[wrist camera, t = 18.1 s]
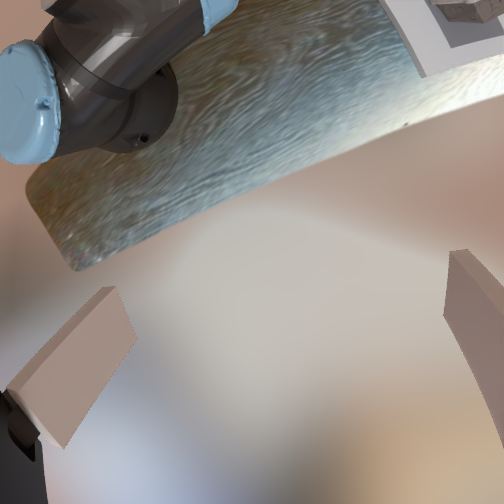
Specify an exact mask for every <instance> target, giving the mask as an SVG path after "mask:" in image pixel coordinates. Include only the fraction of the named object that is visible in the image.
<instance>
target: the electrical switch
mask: <svg viewBox="0 0 504 504" xmlns="http://www.w3.org/2000/svg"><path fill="white" fill-rule="evenodd" d="M430 2H431V4H432V5H437V4H438V6H439V8H440V9H441V11H442V12H443V13H444V15H445V17H446V18H447V20H448V22H468V23H482V24H483V23H486V22H488V21H490V20H492V19H494V18H496V17H498V16H500V15H502V14H504V0H430ZM481 19H482V20H481ZM482 21H483V22H482Z"/></svg>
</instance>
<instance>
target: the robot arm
mask: <svg viewBox="0 0 504 504" xmlns="http://www.w3.org/2000/svg"><path fill="white" fill-rule="evenodd" d="M238 1H239V0H41V8H42V9H43V10H44V11H46V12H48V13H49V14H51V15H52V16H54V18H53V19H52V20H51V22H50V23H49V24H48V25H47V27H46V28H45V29H44V30H43V31H42V33H41V34H40V35H39V36H38V38H37V39H36V40H35V41H33V40H22V41H20V42H17V43H16V44H12V45H10V46H8V47H7V48H6V49H5V50H3V52H2V53H1V54H0V155H1V157H3V158H4V159H5V160H6V161H8V162H10V163H14V164H18V165H26V164H33V163H43V162H46V161H47V160H49V159H52V158H55V157H59V156H62V155H66V154H70V153H74V152H77V151H81V150H85V149H89V148H94V147H98V148H101V149H104V150H107V151H110V152H114V153H129V152H133V151H137V150H141V149H144V148H146V147H148V146H150V145H151V144H153V143H154V142H156V141H157V140H158V139H159V138H160V137H161V136H162V135H163V134H164V133H165V132H166V130H167V129H168V127H169V126H170V124H171V122H172V120H173V118H174V115H175V112H176V108H177V102H178V88H177V82H176V79H175V76H174V74H173V72H172V70H171V68H170V67H169V65H168V64H167V62H169V61H170V60H171V59H172V58H173V57H175V56H176V55H177V54H178V53H180V52H181V51H182V50H183V49H185V48H186V47H187V46H189V45H190V44H191V43H192V42H194V41H195V40H196V39H198V38H199V37H200V36H205V35H207V34H208V33H209V31H210V29H211V28H212V27H213V26H215V25H216V24H217V23H219V22H220V21H221V20H223V19H224V18H225V17H227V16H228V15H230V14H231V13H232V12H233V11H234V10H235V8H236V7H237V4H238ZM443 316H444V317H445V319H446V321H447V323H448V325H449V327H450V328H451V330H452V332H453V334H454V336H455V338H456V340H457V342H458V344H459V345H460V348H461V350H462V352H463V354H464V355H465V358H466V360H467V362H468V364H469V366H470V368H471V370H472V372H473V374H474V376H475V379H476V381H477V383H478V385H479V387H480V390H481V392H482V394H483V396H484V399H485V401H486V403H487V406H488V408H489V410H490V413H491V415H492V418H493V420H494V423H495V425H496V428H497V431H498V433H499V436H500V439H501V441H502V444H503V447H504V287H503V286H502V285H501V284H500V283H499V282H498V280H497V279H496V278H495V277H494V276H493V275H492V274H491V273H490V272H489V271H488V270H487V269H486V268H485V267H484V266H483V265H482V264H481V262H480V261H478V259H477V258H476V257H475V256H474V255H473V254H472V253H470V251H468V249H465V250H457V251H450V255H449V269H448V281H447V290H446V299H445V307H444V314H443ZM137 339H138V338H137V336H136V334H135V331H134V329H133V327H132V324H131V322H130V319H129V317H128V315H127V312H126V310H125V307H124V305H123V302H122V300H121V297H120V296H119V292H118V290H117V287H116V286H110V287H103V288H101V289H100V290H99V291H98V292H97V293H96V294H95V295H94V296H93V297H92V298H91V299H90V300H89V301H88V302H87V303H86V304H85V305H84V306H83V307H82V308H81V309H80V310H79V311H78V312H77V313H76V314H75V315H74V316H73V317H72V318H71V319H70V320H69V321H68V322H67V323H66V324H65V325H64V326H63V327H62V328H61V329H60V330H59V331H58V332H57V333H56V334H55V335H54V336H53V337H52V338H51V339H50V340H49V341H48V342H47V343H46V344H45V345H44V346H43V347H42V348H41V349H40V350H39V352H38V353H37V354H36V355H35V356H34V357H33V358H32V359H31V360H30V361H29V362H28V363H27V364H26V366H25V367H24V368H23V369H22V370H21V371H20V372H19V373H18V374H17V375H16V377H15V378H14V379H13V380H12V381H11V382H10V383H9V384H8V385H7V387H6V390H5V391H4V392H3V393H1V391H0V504H48V500H47V493H46V484H45V476H44V465H43V453H42V445H41V442H40V441H39V440H38V436H39V435H40V433H41V435H42V436H43V437H44V438H45V439H46V440H47V441H48V443H49V444H51V445H53V446H56V447H58V448H61V449H64V448H65V447H66V445H67V443H68V442H69V441H70V439H71V437H72V436H73V434H74V433H75V431H76V430H77V428H78V427H79V425H80V423H81V422H82V420H83V419H84V417H85V416H86V414H87V413H88V411H89V410H90V408H91V407H92V405H93V404H94V402H95V401H96V399H97V398H98V396H99V394H100V393H101V391H102V390H103V389H104V387H105V386H106V384H107V382H108V381H109V380H110V378H111V377H112V375H113V374H114V372H115V371H116V369H117V368H118V366H119V365H120V364H121V362H122V360H123V359H124V358H125V356H126V355H127V353H128V352H129V351H130V349H131V348H132V346H133V345H134V343H135V342H136V340H137Z"/></svg>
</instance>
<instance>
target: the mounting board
mask: <svg viewBox="0 0 504 504" xmlns="http://www.w3.org/2000/svg"><path fill="white" fill-rule="evenodd" d="M378 1H379V2H380V4H381V5H382V7H383V8H384V10H385V12H386V13H387V15H388V17H389V18H390V20H391V21H392V23H393V25H394V27H395V28H396V30H397V32H398V34H399V35H400V37H401V39H402V41H403V43H404V44H405V46H406V48H407V50H408V52H409V54H410V56H411V58H412V60H413V62H414V64H415V66H416V68H417V70H418V72H419V74H420V76H421V78H424V77H428V76H431V75H434V74H437V73H440V72H443V71H446V70H449V69H452V68H455V67H458V66H461V65H465V64H468V63H471V62H475V61H478V60H482V59H485V58H489V57H492V56H496V55H500V54H504V14H502V15H500V16H498V17H496V18H494V19H492V20H490V21H488V22H486V23H483V24H482V23H468V22H448V20H447V18H446V17H445V15H444V13H443V12H442V11H441V9H440V8H439V6H438V4H437V5H432V4H431V2H430V0H378ZM481 20H482V19H481ZM482 22H483V21H482Z"/></svg>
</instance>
